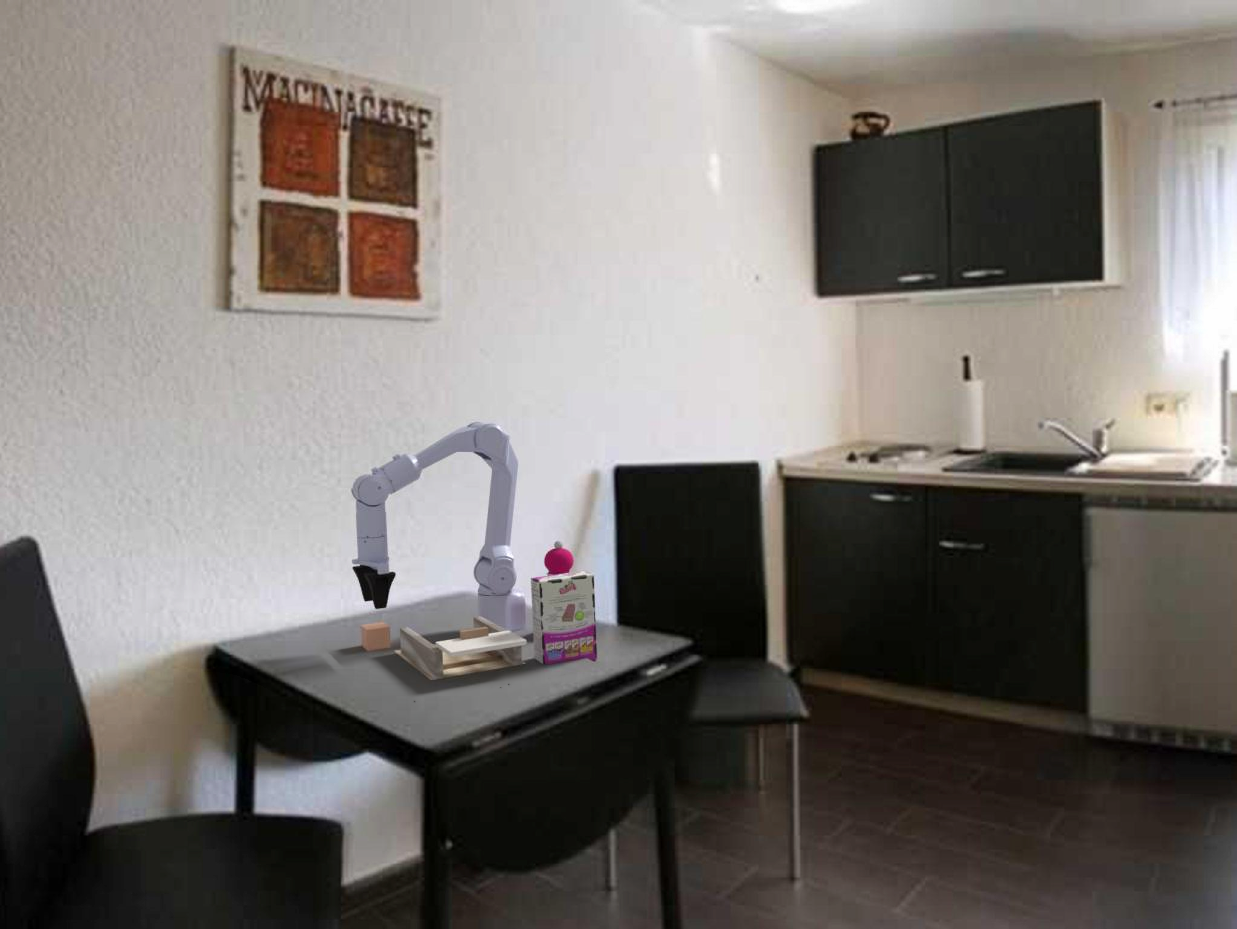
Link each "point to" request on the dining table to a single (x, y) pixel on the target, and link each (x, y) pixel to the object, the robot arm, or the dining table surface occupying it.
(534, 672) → the dining table surface
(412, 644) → the beige wooden low frame
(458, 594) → the dining table surface
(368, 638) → the terracotta block
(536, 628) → the candy bar box
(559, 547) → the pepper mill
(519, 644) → the sliding lid
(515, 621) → the robot arm
